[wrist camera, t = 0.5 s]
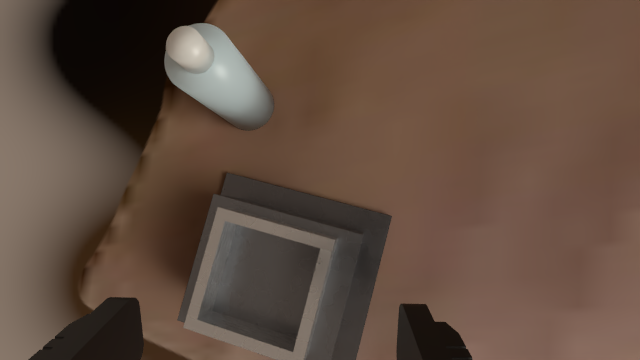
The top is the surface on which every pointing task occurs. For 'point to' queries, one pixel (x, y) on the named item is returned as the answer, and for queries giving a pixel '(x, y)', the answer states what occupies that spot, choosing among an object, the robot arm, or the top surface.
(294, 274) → the grey socket base
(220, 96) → the bottle
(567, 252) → the top surface
